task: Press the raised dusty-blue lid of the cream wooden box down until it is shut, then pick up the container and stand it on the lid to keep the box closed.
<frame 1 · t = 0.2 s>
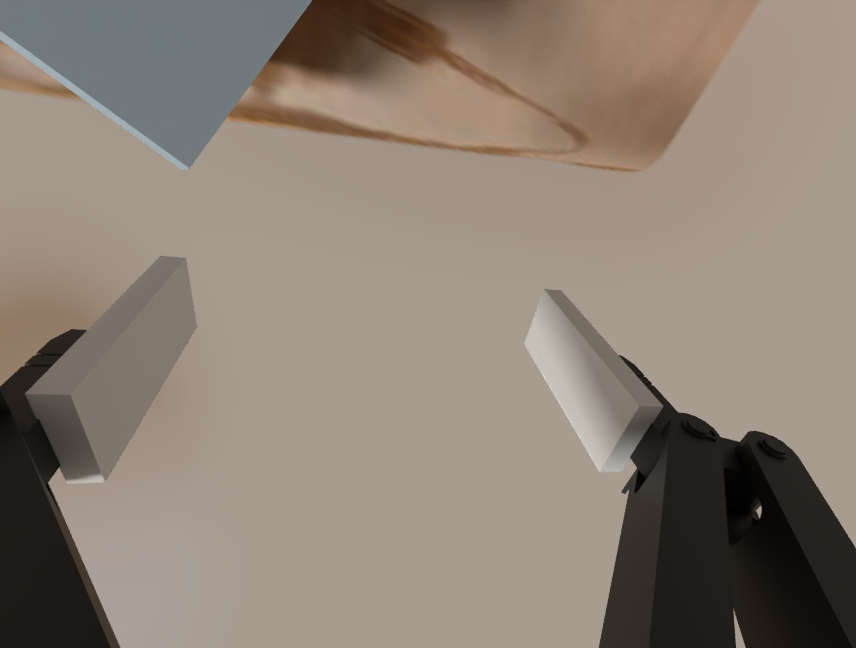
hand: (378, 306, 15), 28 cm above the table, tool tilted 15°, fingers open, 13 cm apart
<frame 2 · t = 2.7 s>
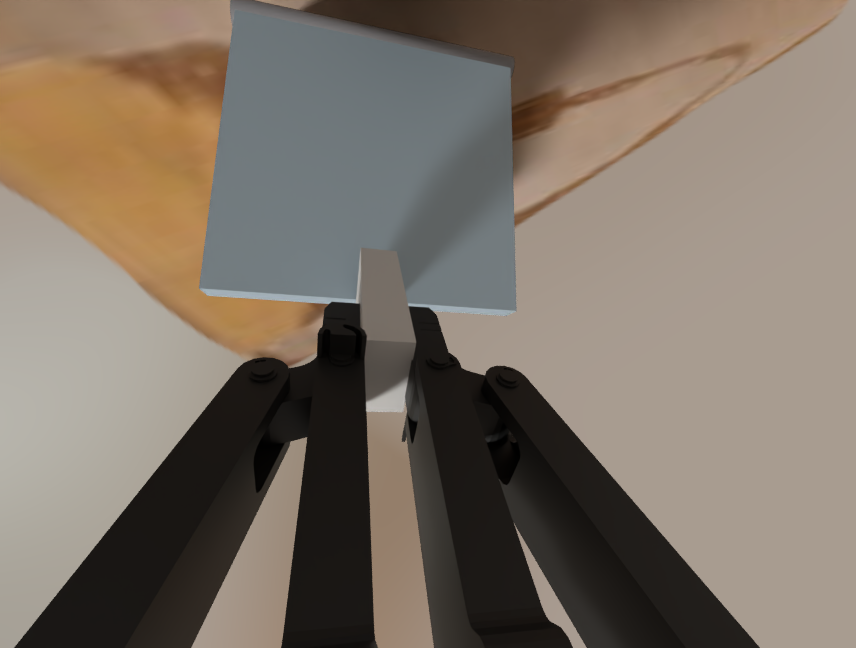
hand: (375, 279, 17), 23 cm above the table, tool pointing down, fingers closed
lid: (376, 159, 20), point 18 cm above the table, hinge at 44.1°, touching gripper
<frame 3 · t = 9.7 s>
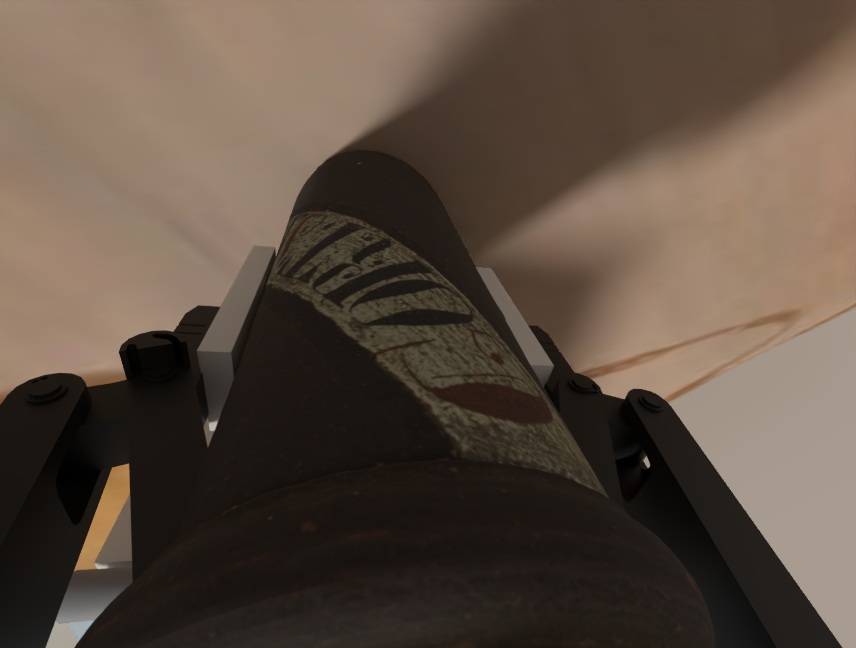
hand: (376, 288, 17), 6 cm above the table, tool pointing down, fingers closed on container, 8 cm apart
box: (323, 434, 29), on the table
container: (372, 235, 21), on the table, touching gripper
when the fingers open (20 cm above the table, at t = 14.5 s): container stays where it is, resting on lid.
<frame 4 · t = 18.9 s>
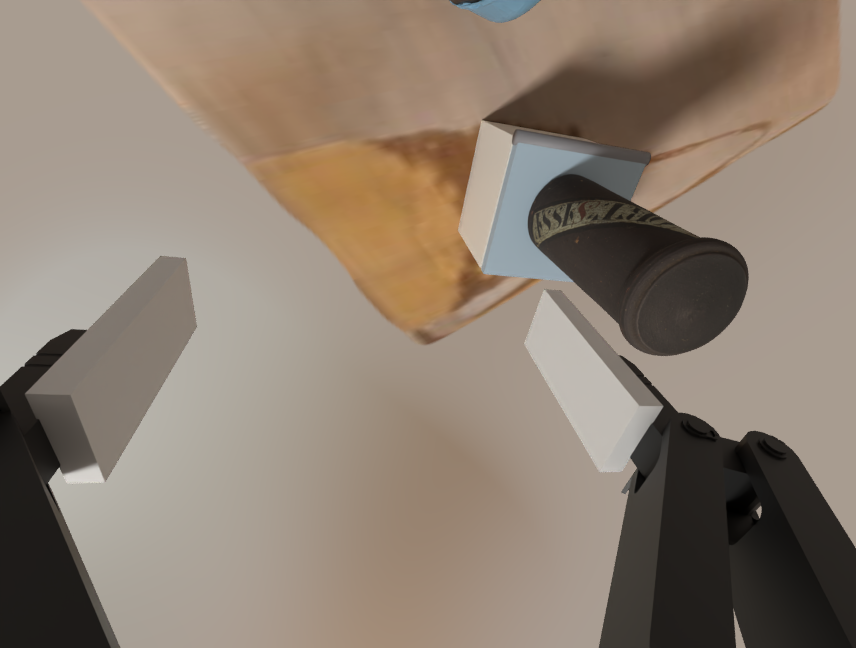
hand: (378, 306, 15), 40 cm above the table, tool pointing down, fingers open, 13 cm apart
box: (518, 186, 54), on the table
container: (562, 215, 43), point 13 cm above the table, touching lid
lid: (560, 214, 43), point 13 cm above the table, hinge at 0.6°, touching container
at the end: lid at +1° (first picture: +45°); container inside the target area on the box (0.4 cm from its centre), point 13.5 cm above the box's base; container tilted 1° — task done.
